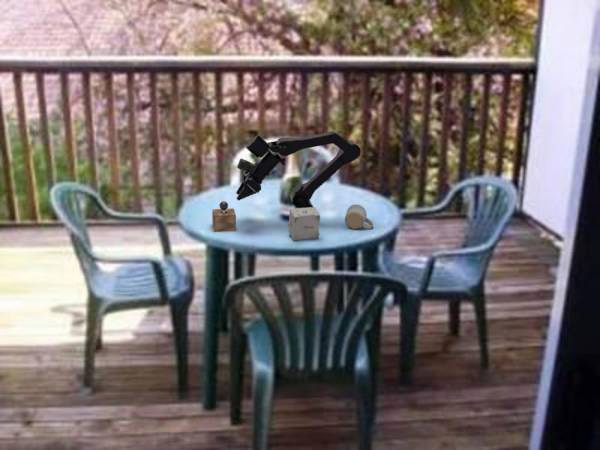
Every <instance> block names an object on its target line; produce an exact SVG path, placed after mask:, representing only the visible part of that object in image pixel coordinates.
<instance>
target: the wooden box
mask: <svg viewBox="0 0 600 450" xmlns="http://www.w3.org/2000/svg"><path fill="white" fill-rule="evenodd" d="M211 210H212V211H211V212H212V213H211V216H212V220H211V221H212V227H213V232H233V231H237V214H236V211H235V209H234V208H227V209H226V210H225V213H223V210H222V209H221V208H213V209H211Z"/></svg>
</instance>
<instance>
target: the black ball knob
mask: <svg viewBox="0 0 600 450" xmlns="http://www.w3.org/2000/svg"><path fill="white" fill-rule="evenodd" d="M228 207H229V203H228V202H227V201H224V200H223V201H221V202H220V203H219V209H222V210H223V213H225V210H226V209H229V208H228Z"/></svg>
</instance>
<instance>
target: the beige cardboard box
mask: <svg viewBox="0 0 600 450" xmlns="http://www.w3.org/2000/svg"><path fill="white" fill-rule="evenodd" d="M288 220H289V221H288V233H289V235H290V236H291V239H292V241H293V242H295V241H296V242H297V241H300V240H309V239H311V240H312V239H314V240H316V239H318V238H320V231H319V230H320V221H321V214H320V213H319V211H318V210H317V208H316V207H315V206H313V207H308V208H296V207H292V208H289V218H288Z"/></svg>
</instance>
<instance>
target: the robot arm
mask: <svg viewBox="0 0 600 450" xmlns="http://www.w3.org/2000/svg"><path fill="white" fill-rule="evenodd" d="M331 144H333V145H335V146H336V147H337V148H339V149H338V151H337V153H336V154H335V156H334V158H332V159H331V160H330V161H328V163H326V165H325V166H324V167H322V168H321V169H320V170H319V171H318V172H317V173H316V174H314V175H313V177H311V178H310V179H309V180H307V182H305V183H302V182H301V181H299V182H298V183H297V184H296V185H295V186H294V187H292V188H291V189H292V190H291V191H290V195H289V197H290V201H291V202H292V204H293V205H294V206H295V208H308V207H314V205H313V204H312V201H311V200H312V197H313V195H314V193H315V192H316V191H317V190H318V189H319V188H320V187H321V186H322V185H323V184H325V182H327V181H328V180H329V179H331V177H332V176H333V175H335V174H336V173H337V172H338V171H339V170H340V169H341V168H342V167H343V166H346V165H348V164H350V163H353V162H354V161H355V160H357V159H358V158H360V156H361V154H362V153H361V152H362V150H361V149H362V148H360V146H359V144H357V143H356V142H355V141H354V140H347V139H346V138H345V137H343V136H342V135H340V134H338V132H337V131H334V130H331V131H328V132H324V133H318V134H313V135H306V136H302V137H293V136H289V137H287V136H286V137H284V136H283V137H279V138H278V139H277V140H274V141H270V142H267V141H266V140H265V139H264V138H263V137H262V136H261V135H260V133H259V134H257V135H256V136H254V137H253V138H251V139H250V140H249V141H248V142H247V143H246V145H245V149H246V150H248V152H250V153H251V154H252V155H253V156H254V157H256V159H258V158H260V160H259V161H256V162H255V163H253V162H251V161H250V160H247V159H244V158H240V159H239V161H238V163H237V167H236V168H237V169H238V170H242V171H243V173H242V177H243V178H242V182H241V183H240V185H239V187H238V188H237V190H236V192H235V193H236V195H237V197H236V200H237V201H241V200H244V199H246V198H248V197H250V196H253V195H256V194H259V193H260V191H262V184H263V181H264V180H265V179H266V178H267V177H269V176H270V175H271V172H273V171H274V169H275V168H276V167H277V166H279V164H281V165H282V166H286V158H285V157H288V156H291V155H293V154H296V153H297V152H300V151H301V150H304V149H305V150H306V149H310V148H314V147H315V148H316V147H320V146H321V147H322V146H325V145H331Z"/></svg>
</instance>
